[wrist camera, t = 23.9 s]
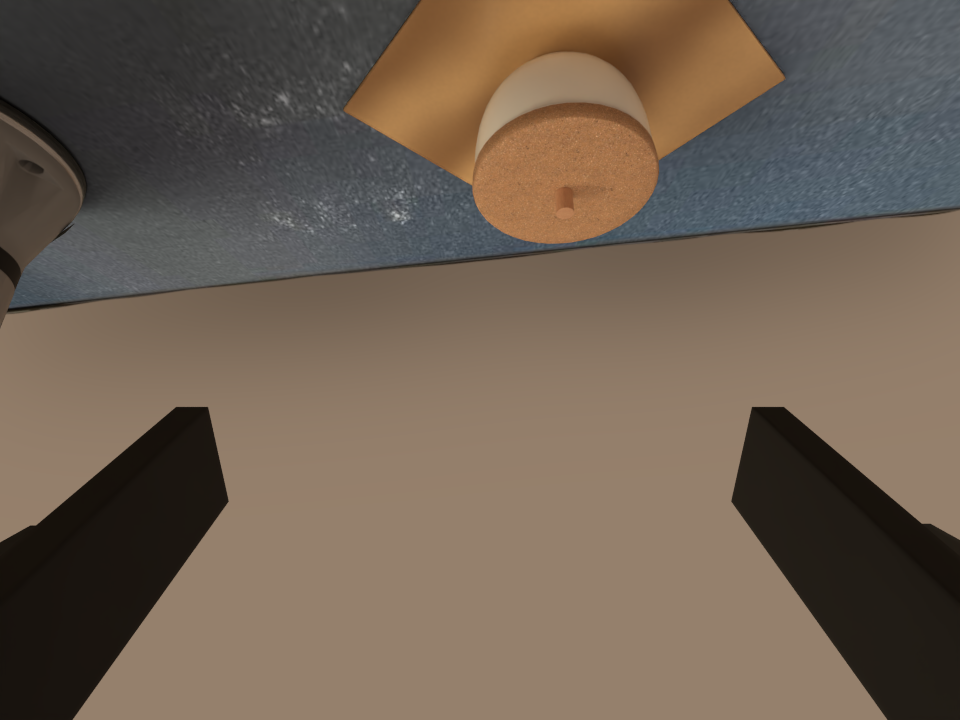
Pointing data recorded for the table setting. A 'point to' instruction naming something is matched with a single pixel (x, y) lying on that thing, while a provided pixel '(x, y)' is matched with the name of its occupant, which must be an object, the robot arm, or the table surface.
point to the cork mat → (558, 28)
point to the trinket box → (563, 151)
